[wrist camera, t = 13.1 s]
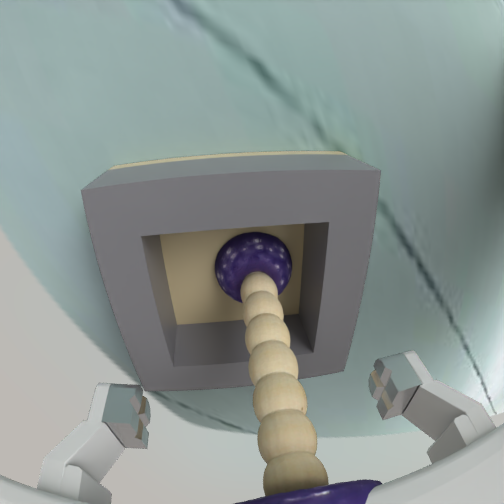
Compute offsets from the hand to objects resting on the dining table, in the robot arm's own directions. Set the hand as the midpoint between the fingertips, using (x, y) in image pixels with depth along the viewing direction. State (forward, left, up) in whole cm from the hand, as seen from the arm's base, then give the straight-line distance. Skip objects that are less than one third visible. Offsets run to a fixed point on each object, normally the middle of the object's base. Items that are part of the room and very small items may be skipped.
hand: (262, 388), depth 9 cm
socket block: (0, 0, -9) cm, 9 cm away
